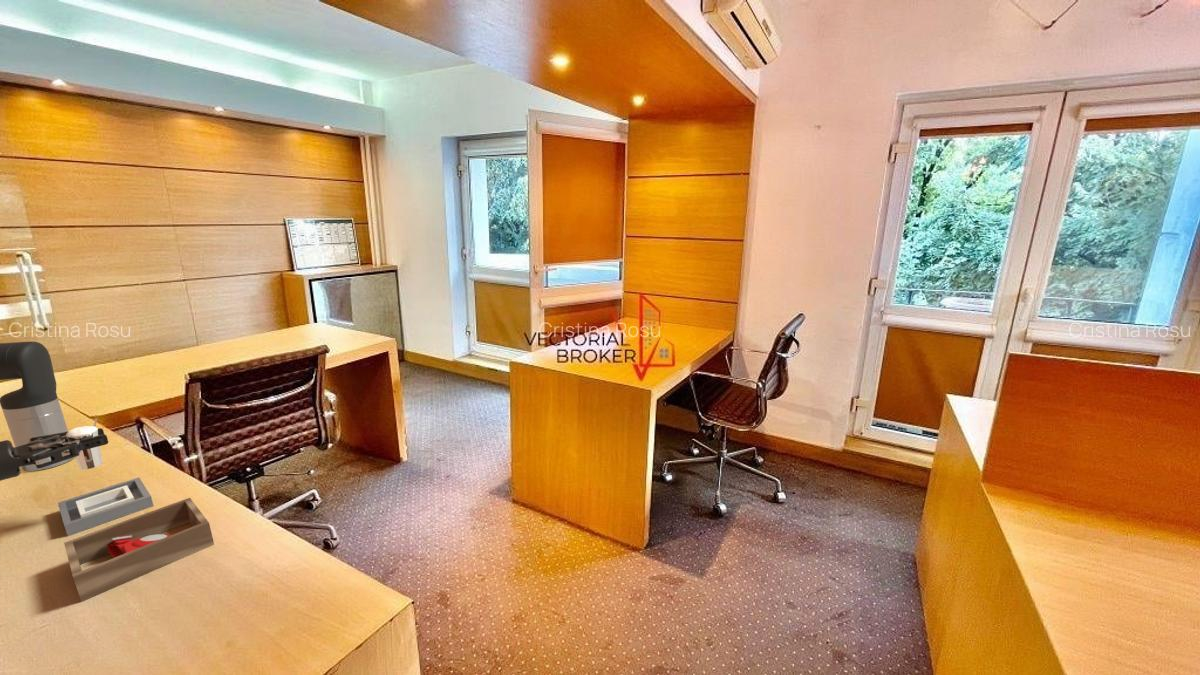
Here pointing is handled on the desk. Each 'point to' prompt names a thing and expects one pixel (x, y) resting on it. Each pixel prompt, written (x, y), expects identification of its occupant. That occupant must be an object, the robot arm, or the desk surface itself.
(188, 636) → the desk surface
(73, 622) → the desk surface
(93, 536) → the tray
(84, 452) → the milkshake
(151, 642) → the desk surface
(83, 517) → the dock box
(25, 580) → the desk surface
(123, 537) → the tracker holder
